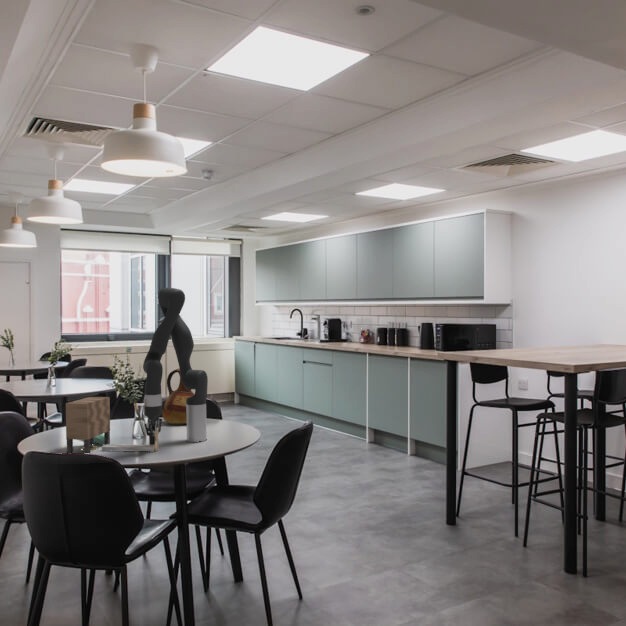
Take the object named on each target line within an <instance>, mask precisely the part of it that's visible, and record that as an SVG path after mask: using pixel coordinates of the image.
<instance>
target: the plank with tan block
mask: <svg viewBox="0 0 626 626" xmlns="http://www.w3.org/2000/svg"><path fill="white" fill-rule="evenodd" d="M152 429H154V428H152ZM148 442H149V443H148V444H129V443H128V444H127V443H126V444H125V443H124V444H123V443H122V444H116V443H114V444H112V443H110V444H106V445H101V452H123V451H148V452H147V453H155V452H154V451H156V452H158V451H159V449H160V447H159V445H160V444H159V443H160V442H159V434H158V428H157V427H156V431H155V444H154V445H150V441H148ZM111 450H112V451H111ZM157 450H158V451H157ZM149 451H150V452H149Z"/></svg>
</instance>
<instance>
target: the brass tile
mask: <svg viewBox="0 0 626 626" xmlns="http://www.w3.org/2000/svg"><path fill="white" fill-rule="evenodd" d="M96 448H97V449H98V446H97V445H90V450H92V451H95V450H97V449H96ZM81 449H83V450H84V446H83V447H81V448H80V450H81ZM94 449H95V450H94Z"/></svg>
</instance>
